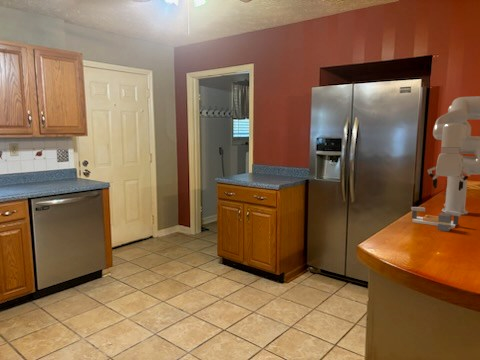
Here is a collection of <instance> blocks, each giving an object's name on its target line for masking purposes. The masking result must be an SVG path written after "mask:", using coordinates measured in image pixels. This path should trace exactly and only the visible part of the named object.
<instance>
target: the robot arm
mask: <svg viewBox="0 0 480 360" xmlns="http://www.w3.org/2000/svg"><path fill="white" fill-rule="evenodd" d="M468 120H480V95H478V96H460V97H457V98H455V99H453V100H452V103H451V105H449V107H448V109H447V112H446V113H445V114H442V115H441V116H439V117H438V118H437V119H436V121H435V123H434V126H433V130H432V137H434V139H436V140H437V141H439V140H440V141H441V146H440V147H441V148H440V153H439V154H438V156H437V161H436V166H433V167H431V168H429V169H427V173H428V175H429V177H430V178H431V179H432V180H433V181H432V187H433V189H437V188H438V177H447V178H446V179H447V181H446V190H445V191H446V192H445V194H446V195H445V203H443V206H444V207H443V208H441V213H446V211H447V210H448V211H454V212H460V213H461V216H462V215H463V216H464V215H468V214H469V211H467V210H466V201H467V200H466V199H467V188H468V178H469V177H470V176H471V175H480V136H479V135H478V136H476V135H475V136H473V135H471V134H472V126H471V124H470V122H469V121H468ZM463 154H465V155H463ZM468 155H475V156H468ZM432 171H435V174H433V173H432ZM464 175H465V176H464Z"/></svg>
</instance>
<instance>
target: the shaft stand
mask: <svg viewBox="0 0 480 360" xmlns="http://www.w3.org/2000/svg"><path fill="white" fill-rule="evenodd" d="M411 211H412V212H411V213H412V215H411V219H412V221H411V222H412V223H416V224H422V225H423V224H424V225H429V226H436V227H438V217H439V215H438V216H437V215H431V214H425V215H424V216H418V212H426V207H419V206H411ZM446 214H452V216H453V219H452V220H451V228H450V229H455V228H456V227H457V225H458V224H459V219H460V217H461V216H462V215H461V213H460V212H454V211H448V210H447V211H446Z"/></svg>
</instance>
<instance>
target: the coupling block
mask: <svg viewBox="0 0 480 360" xmlns="http://www.w3.org/2000/svg"><path fill="white" fill-rule="evenodd" d="M452 217H453V215H452V214H446V213H445V212H440V213H439V214H438V226H437V229H436V230H437V231H440V232H448V233H449V232H450V231H451V229H452V228H451V221H452Z"/></svg>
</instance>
